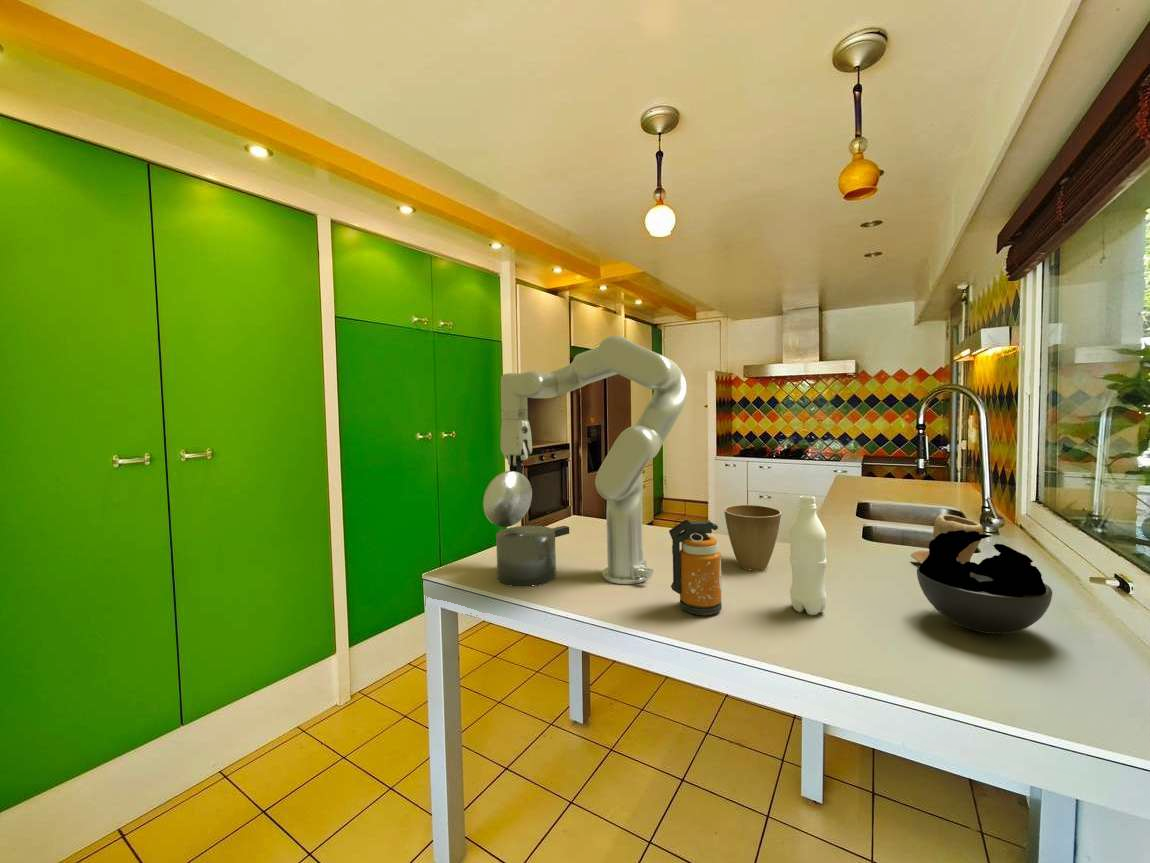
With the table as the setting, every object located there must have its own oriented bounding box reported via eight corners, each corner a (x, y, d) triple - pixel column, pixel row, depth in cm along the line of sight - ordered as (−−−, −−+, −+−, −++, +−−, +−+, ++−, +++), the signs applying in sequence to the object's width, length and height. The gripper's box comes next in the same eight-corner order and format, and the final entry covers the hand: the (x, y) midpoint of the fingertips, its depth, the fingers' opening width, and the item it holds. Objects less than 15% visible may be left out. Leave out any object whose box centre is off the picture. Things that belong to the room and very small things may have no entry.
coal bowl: (919, 599, 107) (920, 517, 106) (1043, 623, 94) (1045, 530, 93) (912, 633, 91) (913, 537, 90) (1060, 666, 78) (1061, 555, 78)
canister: (726, 617, 100) (725, 524, 99) (674, 618, 101) (673, 525, 100) (715, 600, 109) (714, 515, 108) (667, 601, 110) (666, 516, 109)
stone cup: (993, 583, 115) (994, 522, 114) (937, 580, 118) (938, 521, 117) (958, 563, 130) (958, 509, 129) (909, 561, 132) (909, 509, 132)
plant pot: (713, 563, 135) (712, 508, 135) (752, 555, 142) (751, 502, 141) (753, 579, 122) (752, 518, 121) (793, 570, 128) (793, 511, 127)
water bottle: (812, 620, 98) (811, 501, 97) (782, 607, 104) (781, 496, 103) (834, 612, 101) (833, 497, 100) (804, 601, 108) (803, 492, 106)
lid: (484, 532, 129) (478, 528, 131) (530, 521, 140) (524, 518, 142) (486, 475, 127) (479, 472, 129) (533, 468, 138) (526, 466, 140)
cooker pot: (586, 569, 133) (585, 527, 133) (520, 591, 118) (519, 544, 117) (546, 556, 146) (545, 518, 146) (483, 575, 131) (481, 532, 130)
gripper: (540, 415, 134) (541, 480, 134) (510, 415, 145) (511, 475, 145) (519, 416, 128) (520, 483, 129) (489, 416, 140) (491, 477, 140)
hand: (515, 478), depth 137 cm, fingers closed
